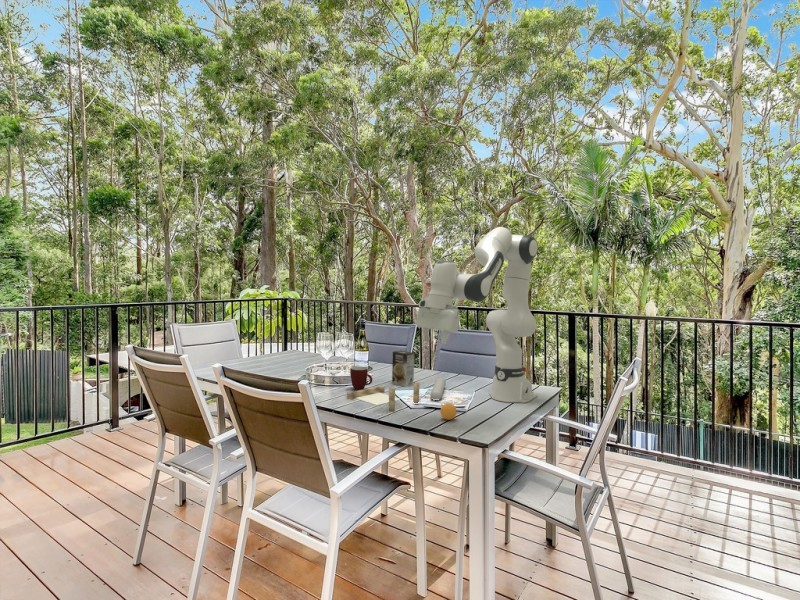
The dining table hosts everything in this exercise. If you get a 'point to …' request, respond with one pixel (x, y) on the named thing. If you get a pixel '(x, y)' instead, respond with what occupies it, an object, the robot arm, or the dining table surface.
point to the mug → (359, 377)
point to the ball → (448, 411)
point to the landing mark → (376, 398)
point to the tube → (438, 388)
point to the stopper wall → (365, 392)
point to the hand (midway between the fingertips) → (434, 342)
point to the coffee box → (403, 368)
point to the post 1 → (391, 399)
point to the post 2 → (416, 392)
